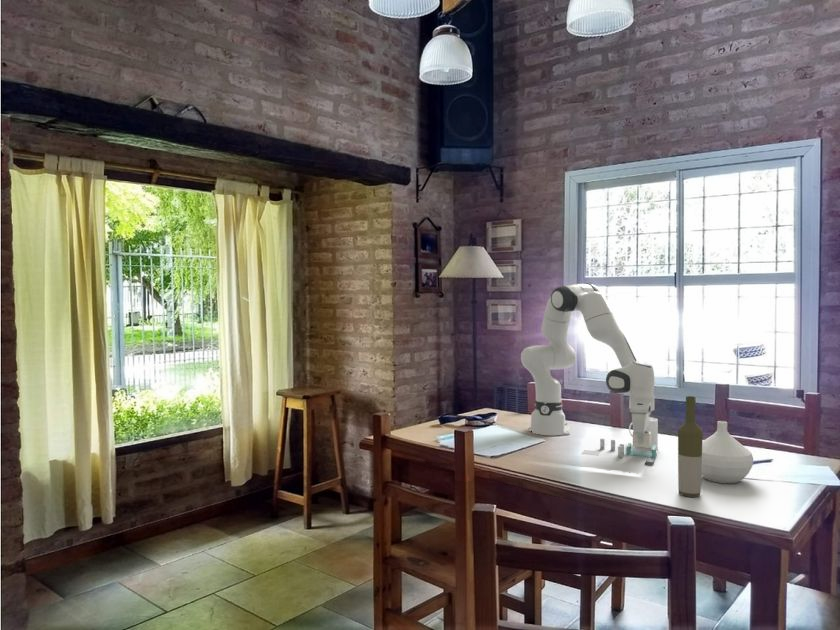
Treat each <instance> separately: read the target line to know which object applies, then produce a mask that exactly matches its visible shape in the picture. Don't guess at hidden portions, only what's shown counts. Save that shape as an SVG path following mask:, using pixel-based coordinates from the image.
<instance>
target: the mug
mask: <svg viewBox="0 0 840 630" xmlns="http://www.w3.org/2000/svg"><path fill="white" fill-rule="evenodd" d="M658 423H659V420H658V418H655V417H651V416H649V425H648V427H647V429H646V431H649V432H651V445H650V447H643V446H638V447H640V448H646V449H650V450H649V452H652V448H653V446H654V445H655V446H656V451H658V450H659V447H658V436H659V434H658V431H659V427H658V425H659V424H658ZM632 426H633V424H632V421H631V422H630V423H629V426H628V432H629V435H630V436H631V437H632V438H633V432H632V431H631V427H632Z"/></svg>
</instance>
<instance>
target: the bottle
mask: <svg viewBox="0 0 840 630" xmlns="http://www.w3.org/2000/svg"><path fill="white" fill-rule="evenodd" d="M696 399H697V398H696V396H686V397H685V422H684V423H683V424H682V425H681V426H680V427H679V428H678V431H677V462H678V464H677V468H678V470H677V471H678V473H677V474H678V475H677V478H678V481H677V483H678V484H677V485H678V487H677V488H678V490H677V491H678V493H679V494H680V495H682V496H684V497H687V498H688V497H689V498H697V497H700V496H701V492H702V491H701V490H702V475H701V468H702V441H703V435H704V434H703V433H704V432H703V430H702V429H701V427H700V426H699V425H698V424H697V422H696V401H697V400H696Z"/></svg>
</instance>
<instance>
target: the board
mask: <svg viewBox="0 0 840 630" xmlns="http://www.w3.org/2000/svg"><path fill="white" fill-rule="evenodd" d="M605 441H606V440H605V438H600V440H599V443H600V444H599V447H600V448H599V449H600V450H602V451H603V450H605V448H606V447H605ZM610 451H613V452H614V451H616V439H610ZM650 452H651V453H652V451H650ZM600 453H601V451H597V450H589V449H584V450H583V451H581V455H590V456H598V455H599V454H600ZM657 453H658V452H656V456H655V458H651V457H646V460H645V462H644V465H645V466H646V465H647V466H654V465H655V464H654V463H655V461H656V459H657ZM623 456H625V444H623V443H620V444H619V445H618V446H617V458H618V459H623Z"/></svg>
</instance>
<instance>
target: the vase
mask: <svg viewBox="0 0 840 630" xmlns="http://www.w3.org/2000/svg"><path fill="white" fill-rule="evenodd" d="M753 466H754V457H753V454H752V452H751V450H749V449H748V448H746V446H744V445H743V444H741V443H740V442H739V441H738V440H737V439H736V438H734V437H733V436H732V435H731V434H730V433H729V432H728V422H727V421H725V420H719V421H717V425H716V431H715V432H714V433H713V434H712V435H710V436H709V437H707V438H705V439H704V440H702V468H701V477H703V478H704V479H705V480H707V481H710V482H713V483H719V484H727V483H728V484H737V483H739V482H741V481H742V480H744V479H745V478H746V476H748V475H749V474H750V471H751V470H752V468H753Z"/></svg>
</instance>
